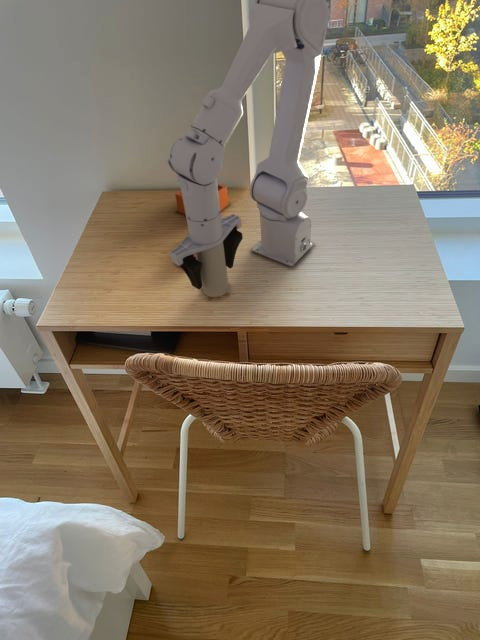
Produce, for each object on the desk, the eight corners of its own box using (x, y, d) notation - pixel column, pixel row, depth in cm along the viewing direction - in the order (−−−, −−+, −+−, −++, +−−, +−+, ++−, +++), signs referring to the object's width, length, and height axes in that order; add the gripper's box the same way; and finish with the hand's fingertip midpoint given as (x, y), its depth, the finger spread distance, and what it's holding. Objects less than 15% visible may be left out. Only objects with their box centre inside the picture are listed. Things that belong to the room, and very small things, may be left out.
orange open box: (228, 204, 111) (226, 186, 108) (206, 222, 107) (203, 204, 104) (201, 194, 115) (198, 177, 112) (178, 211, 111) (174, 193, 108)
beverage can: (232, 294, 90) (226, 241, 81) (207, 302, 89) (199, 249, 80) (223, 279, 93) (216, 226, 85) (199, 286, 92) (190, 234, 84)
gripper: (219, 185, 84) (226, 248, 94) (152, 222, 78) (168, 286, 88) (247, 199, 81) (252, 263, 90) (180, 239, 74) (193, 304, 84)
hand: (212, 275), depth 89 cm, fingers open, 7 cm apart
